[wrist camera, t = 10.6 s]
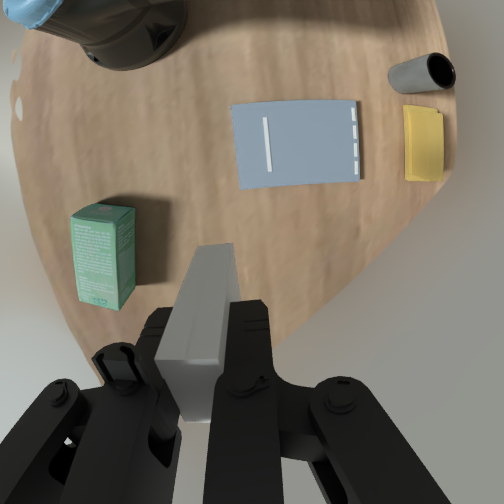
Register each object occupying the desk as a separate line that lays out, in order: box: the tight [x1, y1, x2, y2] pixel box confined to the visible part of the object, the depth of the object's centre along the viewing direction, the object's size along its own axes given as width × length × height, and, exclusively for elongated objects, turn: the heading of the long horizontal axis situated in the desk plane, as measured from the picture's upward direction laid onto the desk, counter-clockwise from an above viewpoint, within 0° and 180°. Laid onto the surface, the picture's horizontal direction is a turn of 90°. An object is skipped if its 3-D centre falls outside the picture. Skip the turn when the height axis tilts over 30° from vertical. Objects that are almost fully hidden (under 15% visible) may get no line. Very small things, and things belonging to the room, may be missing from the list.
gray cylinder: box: [388, 52, 456, 94], centre depth 25 cm, size 4×4×10 cm
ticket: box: [231, 100, 360, 190], centre depth 34 cm, size 11×16×1 cm
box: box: [70, 204, 136, 311], centre depth 37 cm, size 7×14×8 cm, turn 171°
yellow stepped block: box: [403, 105, 444, 181], centre depth 31 cm, size 11×6×6 cm, turn 6°
